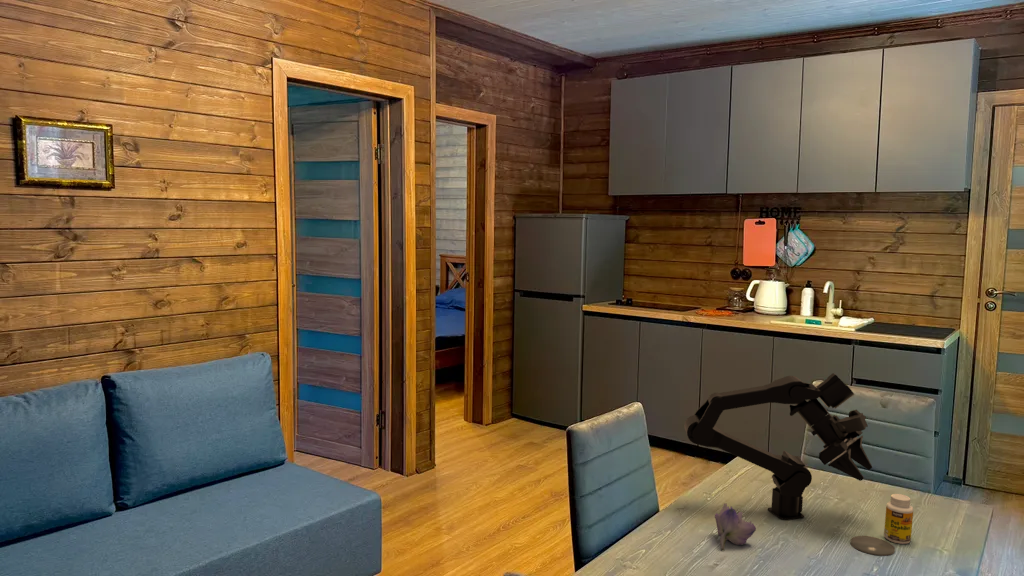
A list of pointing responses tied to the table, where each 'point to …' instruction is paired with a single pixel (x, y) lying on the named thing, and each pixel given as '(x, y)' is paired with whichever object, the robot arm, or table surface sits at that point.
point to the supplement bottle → (898, 519)
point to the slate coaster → (872, 545)
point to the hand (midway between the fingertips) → (866, 474)
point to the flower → (733, 527)
